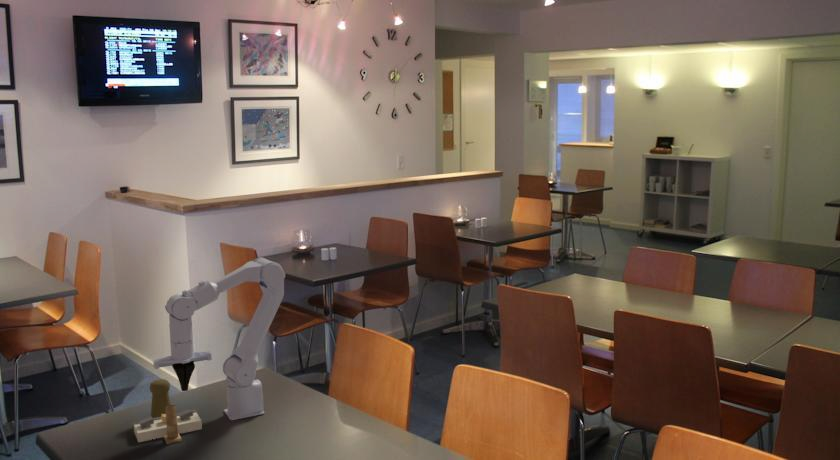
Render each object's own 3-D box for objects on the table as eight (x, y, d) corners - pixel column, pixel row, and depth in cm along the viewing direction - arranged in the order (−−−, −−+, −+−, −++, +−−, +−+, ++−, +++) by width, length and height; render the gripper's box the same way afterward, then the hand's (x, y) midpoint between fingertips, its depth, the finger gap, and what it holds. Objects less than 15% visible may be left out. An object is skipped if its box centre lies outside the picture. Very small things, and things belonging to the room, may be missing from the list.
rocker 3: (191, 412, 198) (190, 408, 198) (193, 415, 196) (192, 411, 196) (179, 417, 197) (178, 413, 196) (181, 420, 195) (180, 416, 194)
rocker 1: (152, 420, 193) (151, 416, 193) (154, 423, 191) (152, 419, 191) (140, 424, 192) (138, 420, 192) (141, 428, 190) (140, 424, 190)
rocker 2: (173, 418, 196) (173, 414, 196) (175, 421, 194) (175, 417, 194) (160, 418, 194) (161, 414, 194) (162, 421, 192) (163, 417, 192)
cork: (166, 424, 199) (163, 385, 197) (146, 422, 200) (143, 383, 198) (177, 415, 205) (175, 377, 203) (158, 413, 206) (155, 376, 204)
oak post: (178, 435, 191) (176, 402, 190) (181, 441, 188) (179, 407, 187) (164, 438, 190) (162, 405, 188) (167, 444, 186) (164, 410, 185)
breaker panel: (196, 419, 201) (195, 409, 201) (201, 429, 195) (201, 418, 195) (134, 432, 194) (133, 422, 193) (138, 442, 188) (137, 431, 187)
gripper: (155, 348, 186) (158, 399, 188) (213, 340, 193) (215, 389, 195) (150, 341, 192) (153, 391, 194) (207, 333, 199) (209, 381, 201)
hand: (184, 389), depth 195 cm, fingers closed
